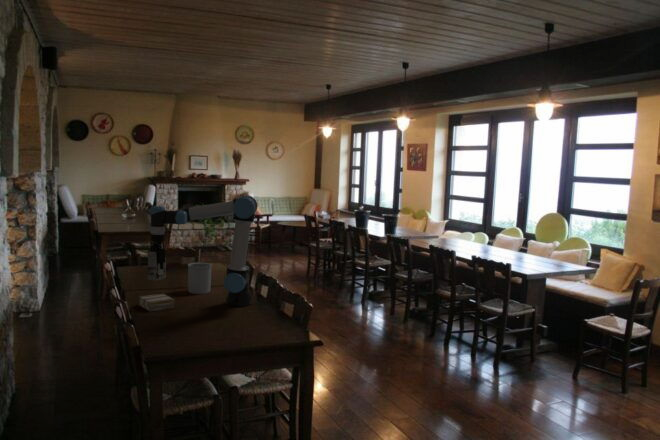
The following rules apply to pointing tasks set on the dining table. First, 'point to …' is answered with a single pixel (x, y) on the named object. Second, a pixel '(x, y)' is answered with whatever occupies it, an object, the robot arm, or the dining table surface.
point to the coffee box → (155, 266)
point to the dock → (156, 302)
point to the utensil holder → (199, 278)
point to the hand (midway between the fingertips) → (156, 273)
